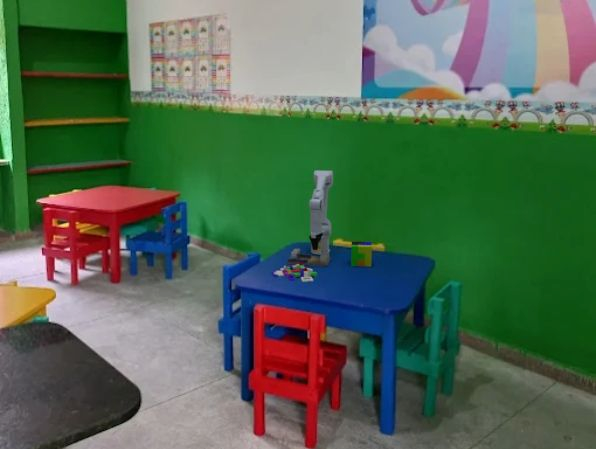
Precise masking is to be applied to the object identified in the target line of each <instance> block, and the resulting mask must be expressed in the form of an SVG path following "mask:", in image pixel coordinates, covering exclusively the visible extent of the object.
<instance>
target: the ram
mask: <svg viewBox="0 0 596 449" xmlns="http://www.w3.org/2000/svg"><path fill="white" fill-rule="evenodd" d="M290 254H291V255H290V258H291V259H298V258H299V257H300V254H301V248H294V249H293V250H292V251H291V253H290Z"/></svg>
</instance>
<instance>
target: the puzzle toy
mask: <svg viewBox="0 0 596 449" xmlns="http://www.w3.org/2000/svg"><path fill="white" fill-rule="evenodd" d="M372 245H373V244H372V241H351V250H350V251H351V252H350V253H351V256H350V257H351V258H350V266H351V267H372V258H373V257H372V256H373V255H372V254H373V253H372V252H373V248H372V247H373V246H372Z"/></svg>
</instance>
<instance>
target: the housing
mask: <svg viewBox="0 0 596 449" xmlns="http://www.w3.org/2000/svg"><path fill="white" fill-rule="evenodd" d="M310 243H311V242H310ZM310 246H311V247H310V248H311V250H310V251H311V252H310V253H312V254H313V253H321V251H322V241H319V243H318V249H317V250H313V248H312V243H311V245H310Z"/></svg>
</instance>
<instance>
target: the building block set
mask: <svg viewBox="0 0 596 449" xmlns="http://www.w3.org/2000/svg"><path fill="white" fill-rule="evenodd" d="M305 266H306V265H304V264H303V263H299V264H296V265H290V264H283V266H282V267H281V268H280V270H276V269H275V270H273V269H272V271H271V272H270V273H271V275H272V277H274V278H278V277H287V279H288V280H290V282H292V281H296V278H297V277H299V278H300V280H301V282H302V283H306V282H309V281H310V282H314V279H313V277H318V273H317V271H314V270H313V269H312V268H309V267H305ZM272 273H274V274H272Z"/></svg>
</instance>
